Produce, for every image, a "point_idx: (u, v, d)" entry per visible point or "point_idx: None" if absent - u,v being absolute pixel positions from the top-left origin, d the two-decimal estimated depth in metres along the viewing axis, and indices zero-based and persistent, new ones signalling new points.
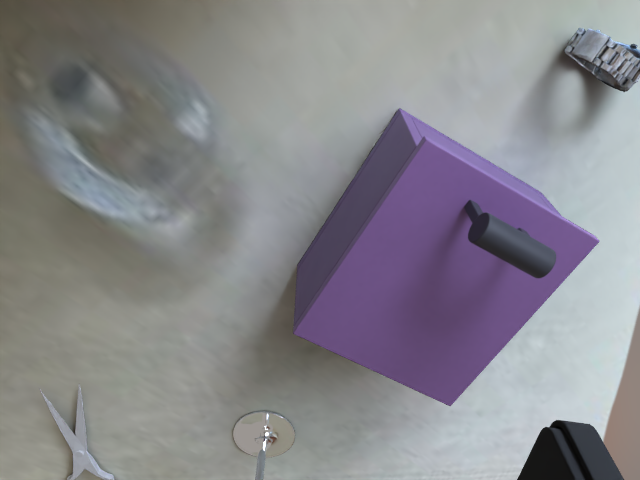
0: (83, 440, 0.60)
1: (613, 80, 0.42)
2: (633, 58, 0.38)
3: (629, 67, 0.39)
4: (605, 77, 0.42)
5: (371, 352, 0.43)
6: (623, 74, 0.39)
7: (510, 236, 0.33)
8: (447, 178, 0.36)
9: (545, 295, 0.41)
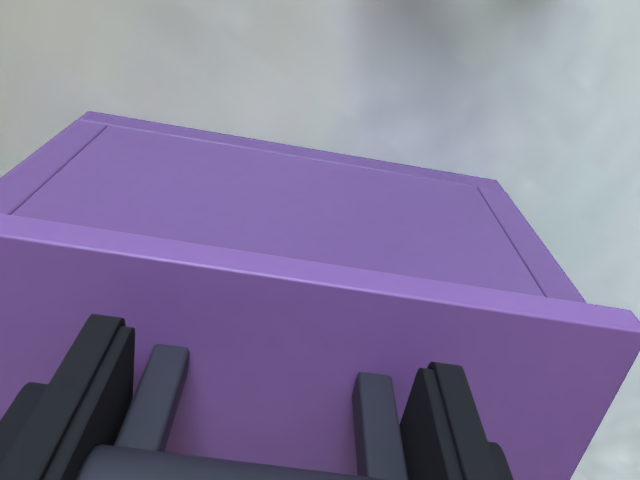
0: None
1: None
2: None
3: None
4: None
5: None
6: None
7: None
8: (45, 308, 0.11)
9: None
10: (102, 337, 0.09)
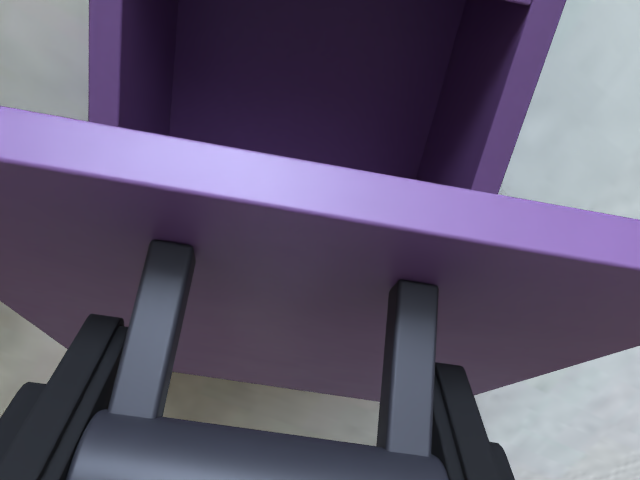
0: None
1: None
2: None
3: None
4: None
5: (230, 375, 0.22)
6: None
7: None
8: (6, 203, 0.09)
9: (580, 357, 0.13)
10: (101, 337, 0.09)
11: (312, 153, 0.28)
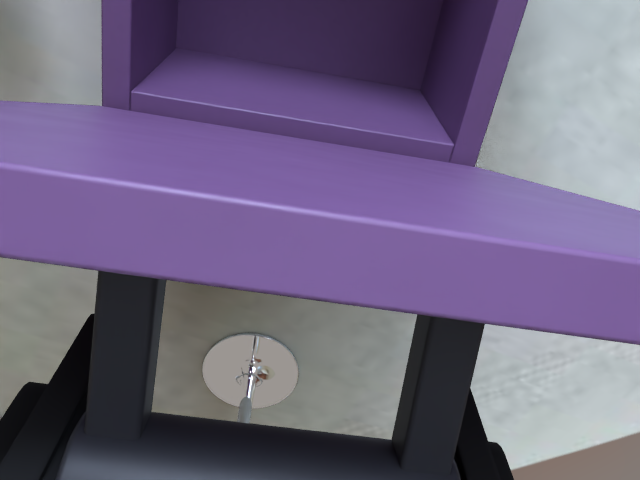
0: None
1: None
2: None
3: None
4: None
5: None
6: None
7: None
8: None
9: None
10: None
11: None
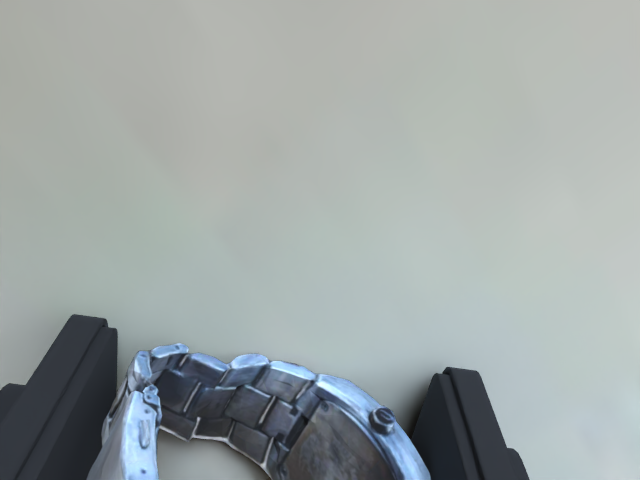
0: None
1: None
2: None
3: None
4: None
5: None
6: None
7: None
8: None
9: None
10: (82, 338, 0.09)
11: None
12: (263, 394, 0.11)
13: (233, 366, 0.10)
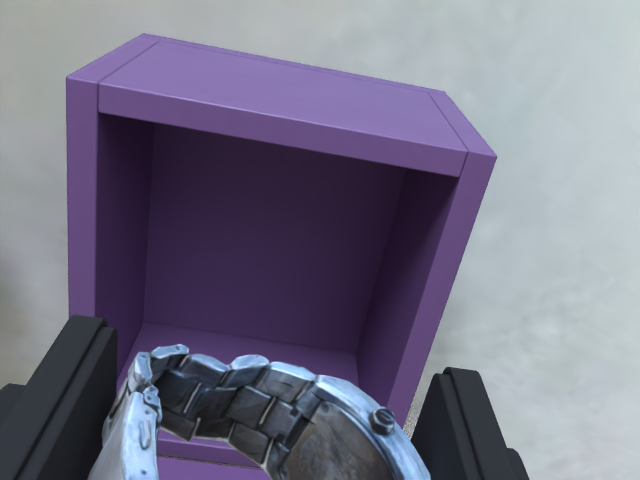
0: None
1: None
2: None
3: None
4: None
5: None
6: None
7: None
8: None
9: None
10: (83, 338, 0.09)
11: (281, 253, 0.30)
12: (263, 395, 0.11)
13: (233, 367, 0.10)
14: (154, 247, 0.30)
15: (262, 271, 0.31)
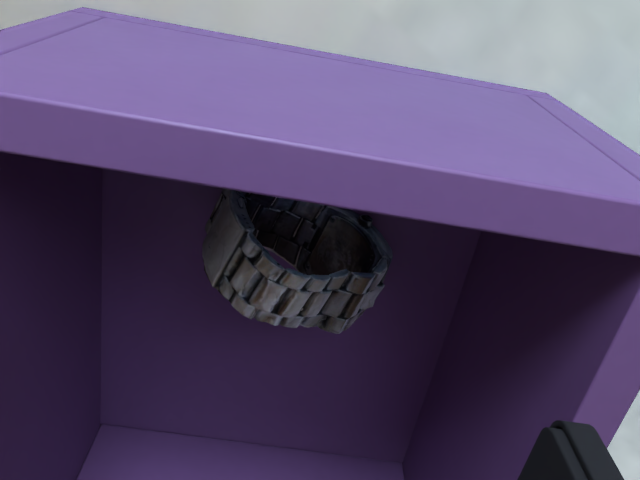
0: None
1: None
2: (314, 283, 0.15)
3: (314, 300, 0.15)
4: None
5: None
6: (303, 314, 0.15)
7: None
8: None
9: None
10: None
11: (297, 332, 0.21)
12: (296, 216, 0.18)
13: None
14: (111, 325, 0.20)
15: (269, 356, 0.21)
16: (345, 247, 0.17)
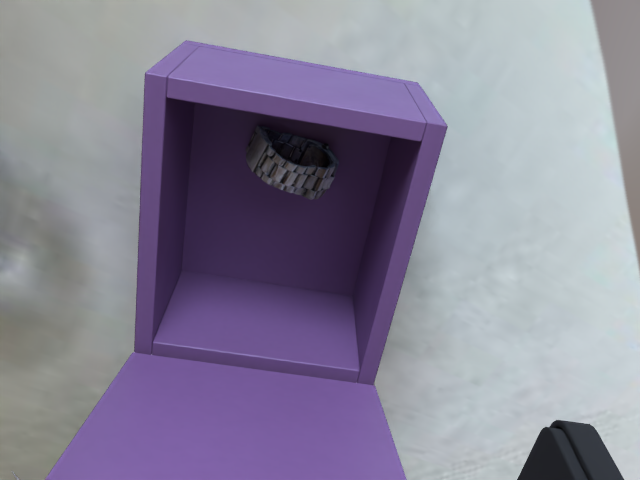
0: None
1: None
2: (299, 168, 0.32)
3: (299, 178, 0.32)
4: None
5: None
6: (294, 185, 0.33)
7: None
8: None
9: None
10: None
11: (292, 212, 0.38)
12: (291, 145, 0.35)
13: (282, 134, 0.35)
14: (191, 209, 0.38)
15: (277, 227, 0.38)
16: (315, 160, 0.35)
